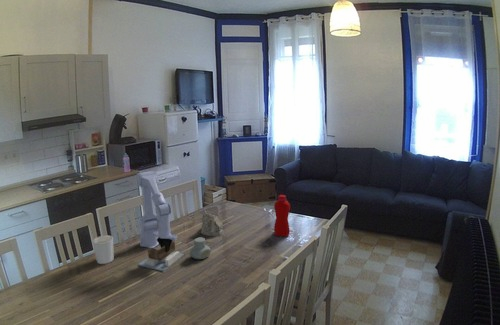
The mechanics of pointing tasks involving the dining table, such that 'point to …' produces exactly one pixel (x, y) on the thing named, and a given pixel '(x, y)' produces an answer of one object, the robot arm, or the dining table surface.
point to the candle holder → (104, 249)
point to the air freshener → (199, 249)
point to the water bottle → (282, 216)
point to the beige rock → (211, 225)
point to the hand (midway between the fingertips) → (165, 251)
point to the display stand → (162, 264)
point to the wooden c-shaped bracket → (160, 252)
